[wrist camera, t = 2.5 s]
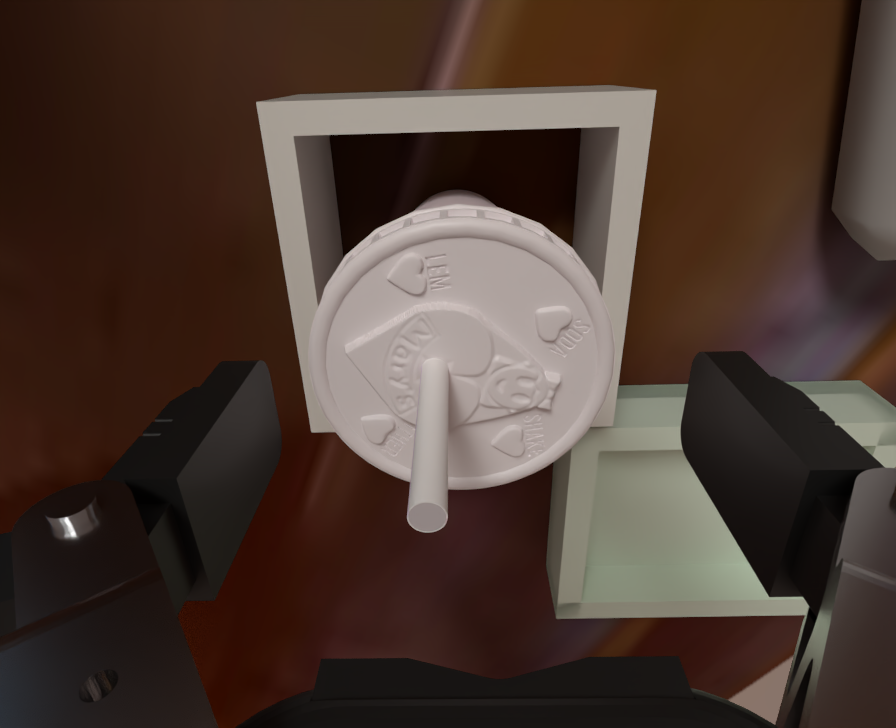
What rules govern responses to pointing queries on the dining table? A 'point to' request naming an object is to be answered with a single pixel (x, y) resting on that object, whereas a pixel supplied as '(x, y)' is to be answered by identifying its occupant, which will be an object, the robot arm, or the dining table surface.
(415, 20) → the dining table surface
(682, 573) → the tray
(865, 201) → the tube
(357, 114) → the hollow square frame
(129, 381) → the dining table surface
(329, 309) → the smoothie
